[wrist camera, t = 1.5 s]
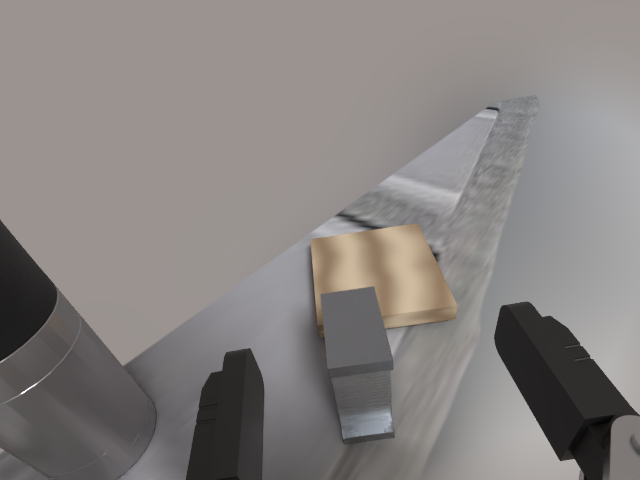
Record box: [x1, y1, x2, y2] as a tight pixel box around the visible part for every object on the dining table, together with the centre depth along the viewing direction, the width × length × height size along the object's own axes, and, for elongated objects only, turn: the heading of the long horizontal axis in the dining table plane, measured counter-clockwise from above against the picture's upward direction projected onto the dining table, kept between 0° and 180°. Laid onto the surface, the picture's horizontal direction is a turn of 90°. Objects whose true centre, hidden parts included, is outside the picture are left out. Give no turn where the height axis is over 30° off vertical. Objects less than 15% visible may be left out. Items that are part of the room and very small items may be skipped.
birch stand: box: [311, 223, 457, 338], centre depth 46 cm, size 15×15×3 cm
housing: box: [320, 286, 395, 444], centre depth 31 cm, size 4×7×12 cm, turn 4°
